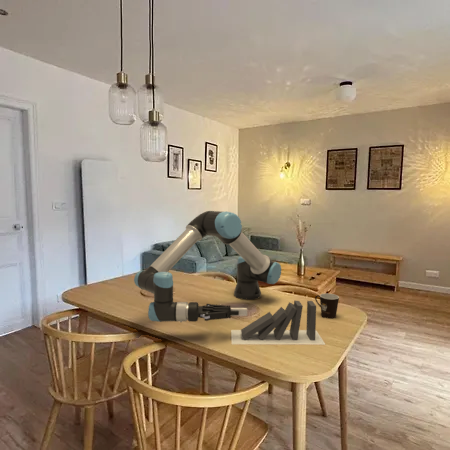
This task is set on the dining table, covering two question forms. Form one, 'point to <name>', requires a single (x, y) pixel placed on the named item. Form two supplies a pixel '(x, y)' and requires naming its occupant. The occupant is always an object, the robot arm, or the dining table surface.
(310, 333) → the domino
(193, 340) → the dining table surface
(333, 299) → the coffee mug
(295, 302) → the domino
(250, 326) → the domino
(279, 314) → the domino
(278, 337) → the domino
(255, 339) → the mat
